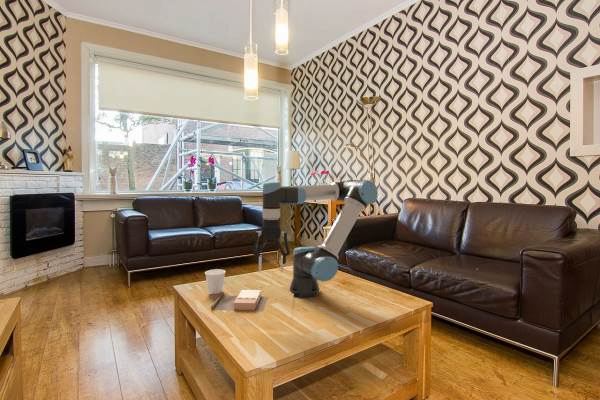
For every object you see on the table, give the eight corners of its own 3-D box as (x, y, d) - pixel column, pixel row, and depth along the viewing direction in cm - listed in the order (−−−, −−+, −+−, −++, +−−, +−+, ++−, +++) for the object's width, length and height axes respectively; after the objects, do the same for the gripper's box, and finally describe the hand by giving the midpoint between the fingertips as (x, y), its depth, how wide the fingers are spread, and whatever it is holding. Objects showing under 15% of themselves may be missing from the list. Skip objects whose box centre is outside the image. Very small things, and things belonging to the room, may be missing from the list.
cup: (220, 298, 152) (220, 275, 151) (201, 296, 154) (201, 274, 153) (228, 291, 161) (228, 269, 161) (210, 289, 163) (210, 268, 163)
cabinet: (256, 305, 140) (256, 298, 140) (254, 310, 135) (254, 302, 135) (236, 305, 140) (236, 298, 140) (233, 309, 135) (233, 302, 135)
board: (268, 299, 151) (268, 293, 151) (262, 313, 134) (262, 307, 134) (222, 298, 152) (222, 292, 152) (211, 312, 135) (211, 306, 135)
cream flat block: (260, 296, 151) (260, 290, 151) (257, 305, 140) (257, 298, 140) (242, 296, 152) (242, 289, 151) (236, 304, 141) (236, 297, 140)
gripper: (297, 217, 139) (296, 269, 140) (248, 217, 139) (247, 268, 140) (296, 219, 131) (295, 274, 132) (244, 219, 132) (244, 273, 133)
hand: (271, 271), depth 136 cm, fingers open, 9 cm apart
